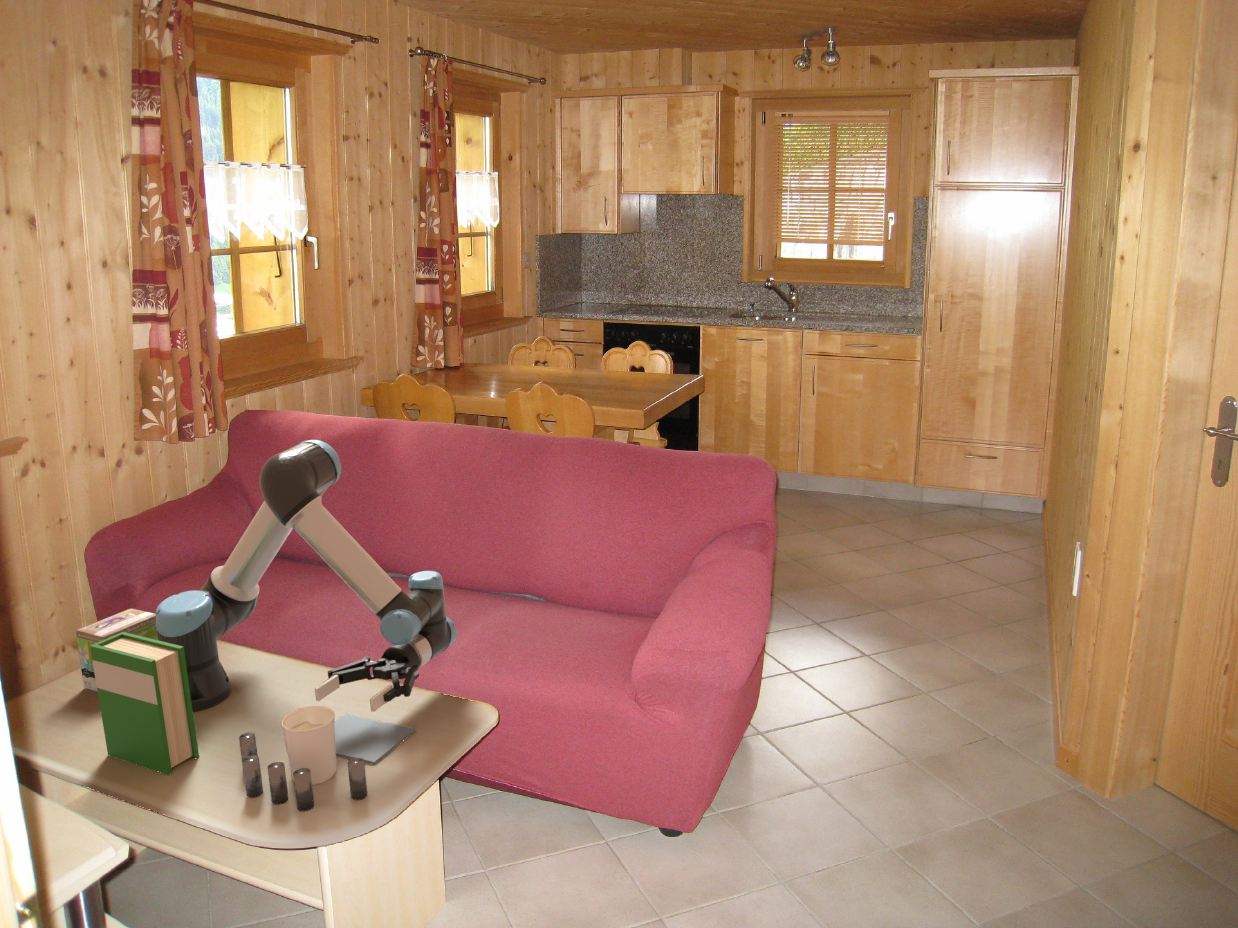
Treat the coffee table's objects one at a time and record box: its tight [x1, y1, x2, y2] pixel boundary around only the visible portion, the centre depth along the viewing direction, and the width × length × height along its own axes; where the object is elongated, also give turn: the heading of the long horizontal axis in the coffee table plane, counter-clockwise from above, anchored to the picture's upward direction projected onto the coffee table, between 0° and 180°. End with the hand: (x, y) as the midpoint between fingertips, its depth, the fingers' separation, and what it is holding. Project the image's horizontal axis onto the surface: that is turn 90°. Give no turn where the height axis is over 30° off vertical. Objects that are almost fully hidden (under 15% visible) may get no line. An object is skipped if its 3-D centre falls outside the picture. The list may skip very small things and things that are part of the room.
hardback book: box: [90, 632, 200, 776], centre depth 199 cm, size 18×7×24 cm, turn 63°
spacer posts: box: [238, 731, 368, 812], centre depth 188 cm, size 29×10×7 cm, turn 66°
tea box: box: [75, 608, 159, 693], centre depth 235 cm, size 15×10×15 cm
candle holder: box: [280, 705, 337, 786], centre depth 193 cm, size 10×10×12 cm
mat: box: [335, 713, 417, 765], centre depth 207 cm, size 18×14×1 cm
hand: (343, 699), depth 200 cm, fingers open, 13 cm apart
